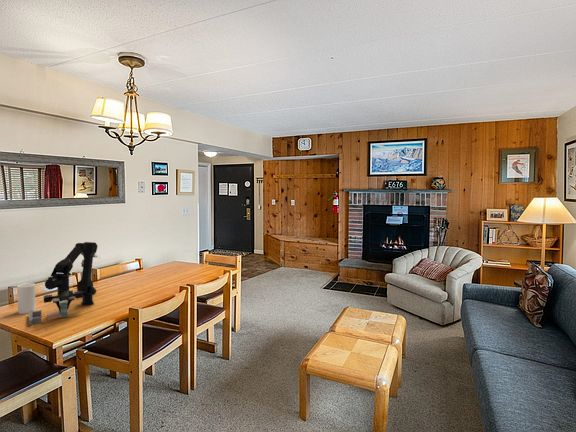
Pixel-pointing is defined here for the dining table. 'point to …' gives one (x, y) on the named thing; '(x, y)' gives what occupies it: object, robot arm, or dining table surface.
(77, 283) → the robot arm
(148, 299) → the dining table surface
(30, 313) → the stop bay
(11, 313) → the dining table surface
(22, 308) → the cup
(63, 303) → the scraper
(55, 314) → the tile
